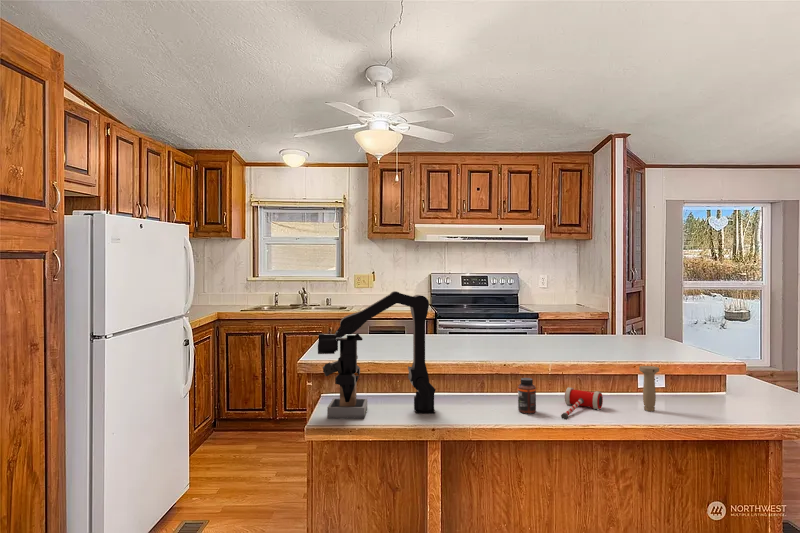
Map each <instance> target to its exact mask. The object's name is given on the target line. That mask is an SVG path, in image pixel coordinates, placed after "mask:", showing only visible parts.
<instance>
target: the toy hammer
mask: <svg viewBox="0 0 800 533" xmlns="http://www.w3.org/2000/svg"><path fill="white" fill-rule="evenodd" d="M603 398H604V396H603V394H602V391H593V392H592V391H586V390H580V389H575V388H573V387H569V386H568V387H567V388H566V390H565V392H564V403H565V405H566V404H567V405H566V406H571V407H569V409H568V410H566V411H565V412H563V413H561V415H560V417H561V419H563V418H566V419H565V420H567V419H568V418H569V416H570V415H571V414H572V413H573V412H574V411H575V410H576V409H578V407H579V406H580V407H584V408H585V407H586V408H592V409H593V410H595V409H599V410H601V409H602V408H603V405H604V404H603V402H604V399H603ZM571 404H572V405H571Z"/></svg>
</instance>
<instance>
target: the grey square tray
mask: <svg viewBox="0 0 800 533" xmlns="http://www.w3.org/2000/svg"><path fill="white" fill-rule="evenodd" d="M326 411H327V415H326V417H327V419H340V418H345V419H346V418H347V419H351V420H352V419H353V420H355V419H356V420H357V419H361V420H364V419H365V418H366V415H365V414H367V412H366V411H368V398H356V405H355V407H346V406H340V397H339V398H332V400H331V401H330V403H329V404H328V406H327V409H326ZM347 419H346V420H347Z"/></svg>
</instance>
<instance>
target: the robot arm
mask: <svg viewBox="0 0 800 533" xmlns="http://www.w3.org/2000/svg"><path fill="white" fill-rule="evenodd" d="M396 304H399V305H403V306H406V307H409V308H410V315H411V317H412V321H413V322H412V323H413V324H412V330H413V331H412V336H413V337H412V338H413V345H412V346H413V347H412V348H413V349H412V350H413V351H412V352H413V353H412V354H413V357H412V358H413V361H412V365H411V366H407V370H408V375H407V379H408V380H409V382H410V384H411V385H412V387H413V388H414V389H415V390H416V391H415V396H413V409H414V411H415V413H416V414H435V413H436V412H435V411H436V410H435V394H436V388H435V387H434V386H433V385H432V384H431V382H430V378H429V372H428V369H427V364H426V320H427V317H428V313H429V309H430V308H429V306H430V303H429V300H428V298H427V297H426V296H424V295H421V294H415V295H413V296H412V295H409V294H404V293H401V292H399V291H392V292H390V293H389V294H388V295H386V296H384V297H383V298H381V299H379V300H377V301H376V302H374V303H373V304H371V305H369V306H368V307H365V308H364V309H361V310H360V311H356V312H353V313H351V314H348V315H346V316H344V317H342V318H341V320H340V322H339V327H338V328H337V330H335V333H318V343H317V354H318V355H335V353H336V352H338V351H339V357H338V358H337V360H336V361H332V362H328V363H325V364H324V365H323V366H322V373H323V374H324V376H325V377H328V376H330V375H332V374H335V373H337V375H336V377H335V380H334V381H335V384H336V385H338V386H339V387H340V386H341V387H342V389H343V393H344V397H345V402H349V400H350V398H351V395H352V392H353V389H354V387H355V384H356V385H357V383H358V381H359V375H360V374H361V367H360V366H359V365H358V357H359V356H358V352H357V351H358V341H363V337H362V336H361V335H360V334H359V332H356V331H358V330H359V329H361V327H363V325H364V324H365V323H366V322H368V321H369V320H371V319H373V318H374V317H376V316H378V315H379V314H381V313H383V312H385V311H386V310H388V309H389V308H390V307H393V306H394V305H396ZM355 332H356V333H355ZM354 333H355V334H354ZM344 336H346V337H344ZM338 349H339V350H338ZM355 374H357V375H355Z"/></svg>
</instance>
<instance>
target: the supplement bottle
mask: <svg viewBox="0 0 800 533" xmlns="http://www.w3.org/2000/svg"><path fill="white" fill-rule="evenodd" d="M536 389H537V388H536V385H535V384H534V379H533V378H531V377H521V378H520V384H519V385H518V386H517V405H518V406H517V411H518V412H519V413H521V412H522V414H525V413H528V414H527V415H529V414H530V413H532V414H535V413H536V412H537V390H536Z"/></svg>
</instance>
